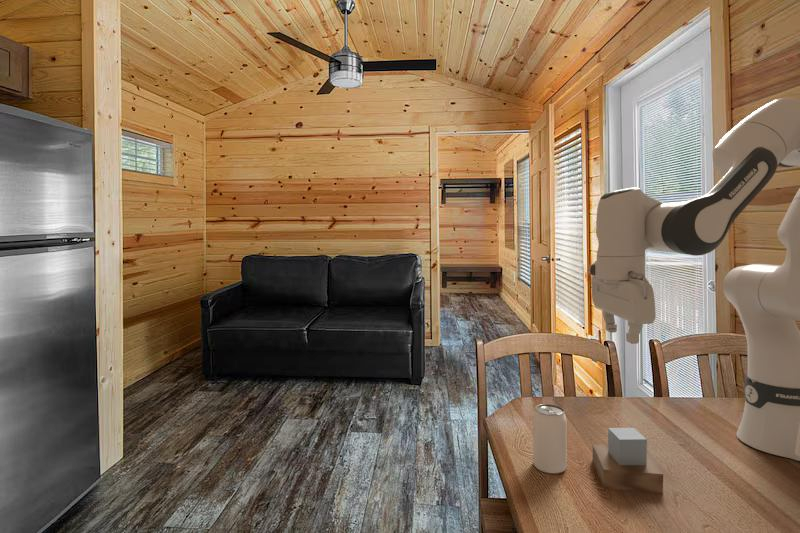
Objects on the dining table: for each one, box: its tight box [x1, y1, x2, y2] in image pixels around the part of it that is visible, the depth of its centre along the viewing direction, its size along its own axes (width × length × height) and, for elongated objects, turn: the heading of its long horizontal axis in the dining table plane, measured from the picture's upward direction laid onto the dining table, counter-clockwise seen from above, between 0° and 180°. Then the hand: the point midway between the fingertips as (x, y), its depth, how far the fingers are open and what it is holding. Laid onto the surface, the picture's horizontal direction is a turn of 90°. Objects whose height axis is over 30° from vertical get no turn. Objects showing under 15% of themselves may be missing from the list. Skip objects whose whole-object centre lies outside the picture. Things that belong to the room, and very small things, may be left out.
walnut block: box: [592, 443, 664, 494], centre depth 87 cm, size 10×10×4 cm
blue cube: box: [607, 427, 648, 465], centre depth 87 cm, size 5×5×5 cm
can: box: [532, 403, 568, 475], centre depth 91 cm, size 6×6×12 cm
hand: (621, 337), depth 92 cm, fingers open, 8 cm apart
